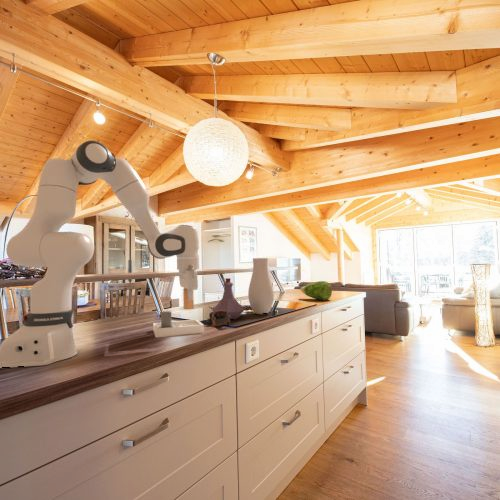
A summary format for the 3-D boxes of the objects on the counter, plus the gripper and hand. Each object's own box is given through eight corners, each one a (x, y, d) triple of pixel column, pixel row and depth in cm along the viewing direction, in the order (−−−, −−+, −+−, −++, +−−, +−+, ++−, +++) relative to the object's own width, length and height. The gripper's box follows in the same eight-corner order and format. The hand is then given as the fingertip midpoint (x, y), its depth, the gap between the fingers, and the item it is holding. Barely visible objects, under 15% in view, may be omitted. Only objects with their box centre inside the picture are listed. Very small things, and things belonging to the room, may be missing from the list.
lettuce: (306, 297, 246) (306, 280, 246) (334, 299, 230) (334, 280, 231) (295, 299, 235) (295, 281, 236) (324, 301, 220) (324, 282, 220)
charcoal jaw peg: (161, 334, 125) (161, 313, 125) (160, 332, 129) (160, 311, 129) (172, 333, 127) (171, 312, 127) (170, 331, 130) (170, 311, 131)
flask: (227, 322, 152) (226, 279, 153) (205, 318, 164) (204, 279, 164) (251, 317, 164) (250, 277, 165) (229, 314, 176) (228, 277, 176)
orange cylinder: (194, 308, 130) (194, 288, 131) (184, 309, 129) (184, 289, 129) (192, 307, 134) (192, 288, 134) (182, 308, 133) (182, 288, 133)
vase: (243, 314, 175) (242, 258, 176) (259, 311, 185) (258, 258, 186) (263, 316, 166) (262, 257, 167) (279, 313, 176) (278, 257, 177)
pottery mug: (236, 326, 146) (234, 312, 142) (223, 339, 139) (220, 324, 136) (216, 317, 153) (214, 303, 149) (202, 329, 146) (199, 315, 142)
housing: (155, 340, 120) (155, 329, 120) (153, 333, 132) (153, 323, 132) (203, 335, 126) (203, 324, 127) (197, 329, 139) (196, 319, 139)
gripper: (201, 265, 123) (202, 302, 123) (191, 264, 143) (191, 296, 142) (184, 265, 121) (185, 303, 121) (176, 265, 140) (176, 297, 140)
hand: (188, 299), depth 132 cm, fingers closed on orange cylinder, 4 cm apart
